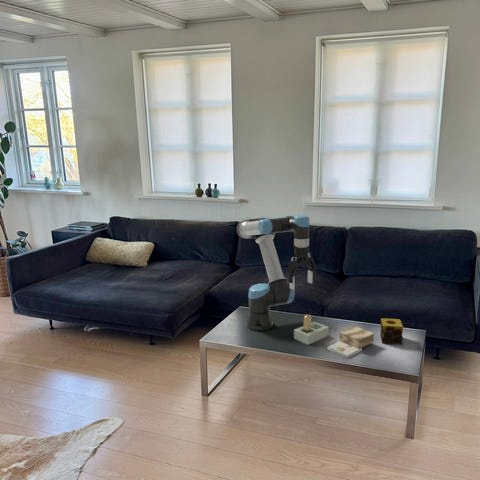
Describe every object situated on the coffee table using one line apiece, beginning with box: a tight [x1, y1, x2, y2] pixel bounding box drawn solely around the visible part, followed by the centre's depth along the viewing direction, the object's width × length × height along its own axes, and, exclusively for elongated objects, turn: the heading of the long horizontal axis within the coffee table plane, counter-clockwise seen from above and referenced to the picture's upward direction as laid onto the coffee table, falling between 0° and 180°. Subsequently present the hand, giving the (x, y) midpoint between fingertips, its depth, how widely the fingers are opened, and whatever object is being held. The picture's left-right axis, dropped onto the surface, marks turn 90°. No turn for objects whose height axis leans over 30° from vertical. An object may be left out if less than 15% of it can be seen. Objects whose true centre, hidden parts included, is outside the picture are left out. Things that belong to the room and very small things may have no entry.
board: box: [326, 340, 363, 359], centre depth 226 cm, size 12×12×2 cm
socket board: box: [293, 321, 330, 346], centre depth 241 cm, size 10×16×5 cm, turn 130°
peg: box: [302, 314, 312, 333], centre depth 238 cm, size 4×4×12 cm
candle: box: [379, 317, 404, 346], centre depth 235 cm, size 10×10×10 cm
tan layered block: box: [339, 325, 375, 349], centre depth 231 cm, size 12×12×5 cm
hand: (301, 285), depth 235 cm, fingers open, 13 cm apart
